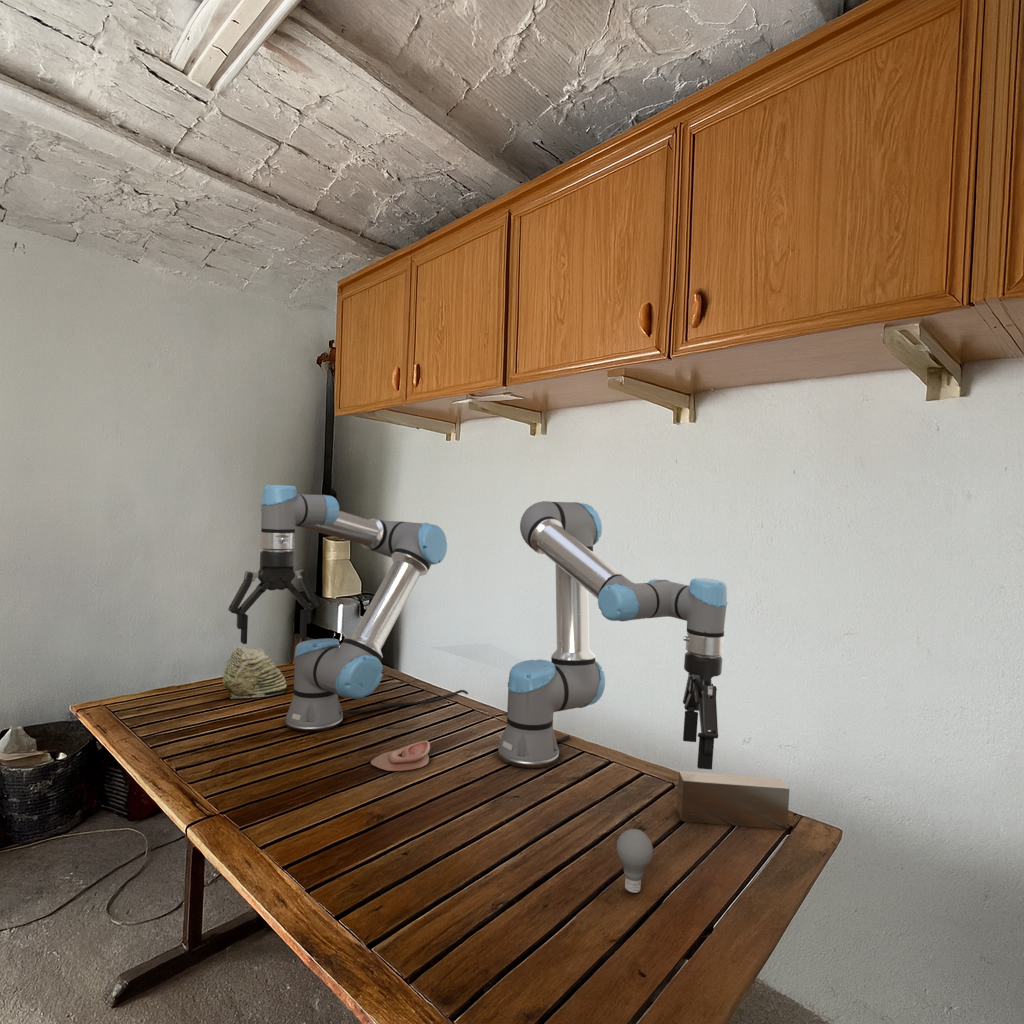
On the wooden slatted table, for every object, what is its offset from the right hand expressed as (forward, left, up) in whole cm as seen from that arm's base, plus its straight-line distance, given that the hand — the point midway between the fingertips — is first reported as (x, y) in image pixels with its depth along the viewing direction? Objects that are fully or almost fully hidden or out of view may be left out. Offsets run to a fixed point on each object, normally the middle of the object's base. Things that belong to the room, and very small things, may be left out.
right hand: (696, 754), depth 132 cm
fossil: (+76, -113, -13) cm, 136 cm away
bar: (-6, +4, -13) cm, 15 cm away
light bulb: (+28, +16, -13) cm, 35 cm away
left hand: (+77, -60, +16) cm, 99 cm away
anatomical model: (+49, -48, -13) cm, 69 cm away
